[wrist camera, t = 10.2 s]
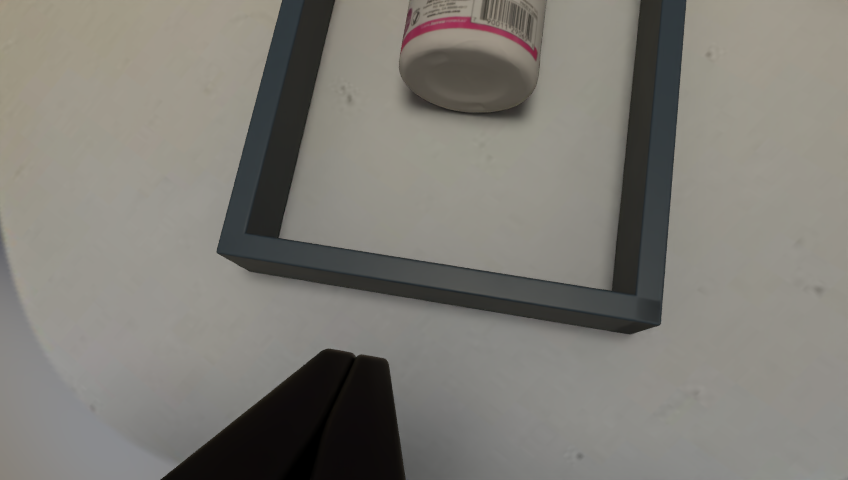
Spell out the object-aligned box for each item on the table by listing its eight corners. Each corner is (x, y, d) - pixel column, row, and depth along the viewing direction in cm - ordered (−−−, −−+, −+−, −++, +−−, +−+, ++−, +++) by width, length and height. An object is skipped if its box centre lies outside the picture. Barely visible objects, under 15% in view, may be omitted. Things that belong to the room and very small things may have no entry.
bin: (631, 334, 20) (661, 325, 17) (248, 271, 21) (215, 252, 18) (670, -95, 24) (699, -162, 21) (346, -127, 25) (331, -193, 22)
